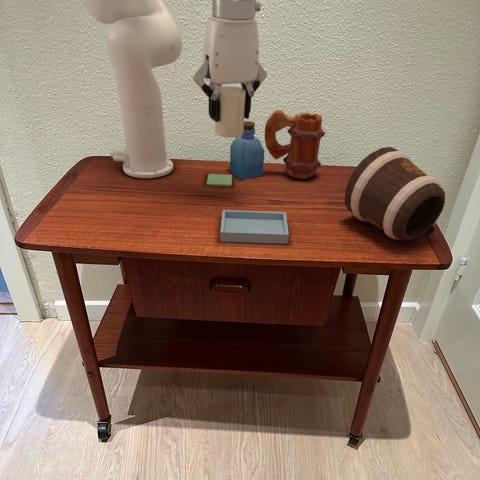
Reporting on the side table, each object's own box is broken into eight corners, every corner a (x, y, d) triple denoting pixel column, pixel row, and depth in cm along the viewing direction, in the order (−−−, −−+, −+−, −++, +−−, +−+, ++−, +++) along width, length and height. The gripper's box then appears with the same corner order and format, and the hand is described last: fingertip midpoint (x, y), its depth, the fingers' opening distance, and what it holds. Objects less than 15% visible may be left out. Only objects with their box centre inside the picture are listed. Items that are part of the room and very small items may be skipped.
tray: (220, 241, 83) (220, 231, 81) (222, 218, 90) (222, 209, 88) (287, 244, 83) (288, 234, 81) (284, 221, 90) (285, 212, 88)
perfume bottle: (241, 179, 105) (242, 128, 97) (230, 170, 109) (230, 121, 101) (262, 175, 107) (266, 125, 100) (251, 166, 112) (253, 118, 104)
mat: (206, 185, 102) (206, 183, 102) (208, 175, 106) (208, 173, 106) (231, 186, 102) (231, 184, 102) (232, 176, 106) (232, 174, 106)
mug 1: (318, 170, 111) (328, 108, 101) (319, 183, 105) (330, 118, 95) (262, 166, 112) (266, 104, 102) (260, 179, 106) (265, 114, 96)
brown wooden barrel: (328, 201, 86) (378, 242, 77) (376, 131, 80) (436, 167, 71) (377, 225, 100) (424, 261, 91) (420, 167, 93) (475, 200, 85)
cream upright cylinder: (213, 136, 86) (214, 93, 81) (216, 126, 91) (216, 85, 86) (242, 138, 87) (245, 95, 81) (243, 128, 91) (246, 87, 86)
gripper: (264, 7, 80) (257, 109, 93) (179, 7, 74) (183, 116, 86) (285, 13, 76) (274, 119, 88) (196, 13, 69) (198, 128, 81)
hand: (229, 117), depth 87 cm, fingers closed on cream upright cylinder, 6 cm apart
